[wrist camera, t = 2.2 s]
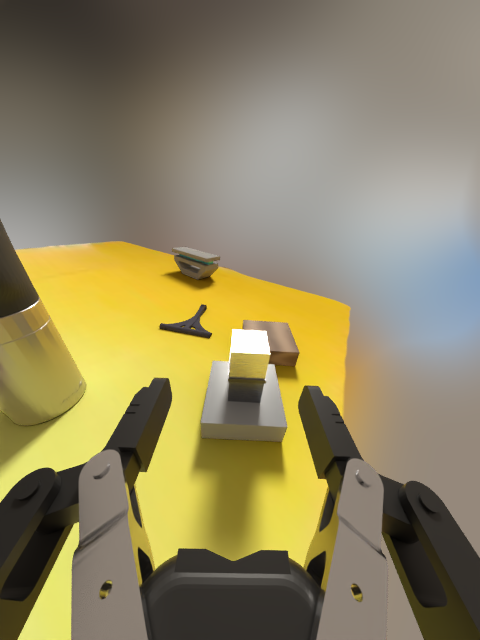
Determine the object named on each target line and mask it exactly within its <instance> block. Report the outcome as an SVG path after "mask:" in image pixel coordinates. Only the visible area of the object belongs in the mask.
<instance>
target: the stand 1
mask: <svg viewBox="0 0 480 640" xmlns="http://www.w3.org/2000/svg"><path fill="white" fill-rule="evenodd" d="M242 330H250V331H266V334H267V340H268V345H269V350H270V358H269V363H268V364H274V365H285V366H295V365H296V362H297V358H298V355H299V351H298V348H297V345H296V343H295V340H294V338H293V335H292V333H291V330H290V328H289V325H288V323H281V322H266V321H251V320H243V329H242Z"/></svg>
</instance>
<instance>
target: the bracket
mask: <svg viewBox="0 0 480 640" xmlns="http://www.w3.org/2000/svg"><path fill="white" fill-rule="evenodd" d="M206 309H207V307H206V305H201V306H200V308H199V310H198V312H197V313H196V315H195V316H194V317H192V318H191V319H189V320H186V321H183V322H180V323H174V324H163V323H161V324H160V329H165V330H170V331H175V332H181V333H186V334H191V335H196V336H201V337H206V338H210V335H212V333H210V332H208V331H206V330H205V329H204V328H203V327H202V326H201V325H200V317H201V315H202V314H203V313H204V312H205V310H206ZM182 326H185V327H182ZM192 327H194V328H195V329H196V330H194V329H191V328H192Z"/></svg>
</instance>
